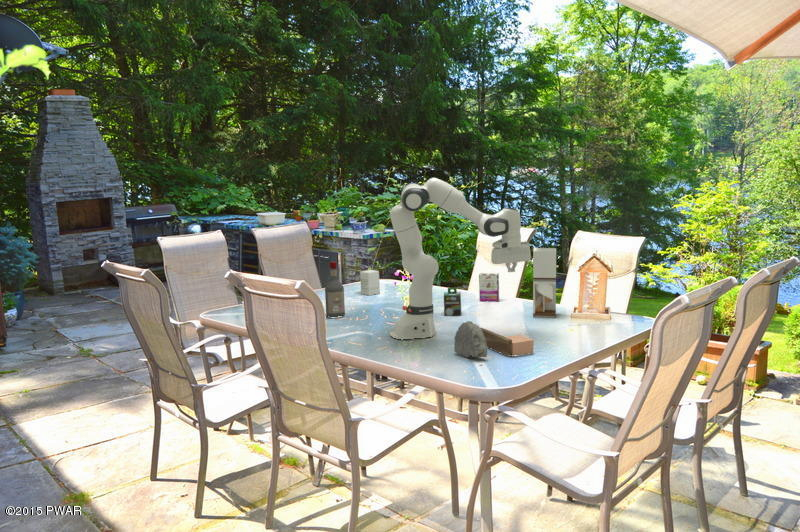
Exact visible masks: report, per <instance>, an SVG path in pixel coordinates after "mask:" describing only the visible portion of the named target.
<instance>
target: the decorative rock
mask: <svg viewBox="0 0 800 532" xmlns="http://www.w3.org/2000/svg"><path fill="white" fill-rule="evenodd" d="M457 328H458V330H457V331H456V332H455V334H454V335H455V336H454V342H453V343H454V353H456V354H459V355H461V356H463V357H465V358H467V357H468V358H467V359H470V358H469V357H472V356H473V357H474V358H487V355H488V348H487V345H486V339H485V337H484V334H483V332H482V330H481V328H482V327H481V326H480V325H478V324H476V323H474V322H473V321H469V320H468V321H466V322H463V323H461V324H460V325H459V327H457ZM473 357H472V358H473Z"/></svg>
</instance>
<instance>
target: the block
mask: <svg viewBox="0 0 800 532" xmlns="http://www.w3.org/2000/svg"><path fill="white" fill-rule="evenodd" d="M505 337H506V338H509V339H511V340H512V355H513V356H514V355H521V354H526V355H529V354H528V353H532V354H534V339H531V338H529V337H526V336H525V335H522V334H515V335H509V336H505ZM513 356H512V357H513ZM521 356H522V355H521Z"/></svg>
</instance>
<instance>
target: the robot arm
mask: <svg viewBox="0 0 800 532" xmlns="http://www.w3.org/2000/svg"><path fill="white" fill-rule="evenodd" d="M399 202H400V203H398V204H397V205H395V206H393V207H392V208H391V209H390V212H389V216H390V220H391V224H392V228H393V230H394V233H395V236H396V238H397V241H398V244H399V246H400V251H401V258H402V261H401V264H402V267H403V269H404V270H405V272H407V273H408V274H410V275H412V281H411V285H410V287H409V289H408V302H409V304H408V306H406V305H403V306H402V307H401V309H402V310H403V311H406V312H405V314H404V315H402V316H401V317H400V318H399V319H398V320H396V322H395V324H394V328H393V329H394V330H393V331H390V332H389V336H390V337H391V336H392V337H393V339H394V338H396V339H395V340H397V339H401V340H400V341H404V340H403V339H412V340H415V339H414V338H422V339H427V338H426V337H431V338H433V337H432V336H435V335H436V334H437V330H436V326H435V321H434V320H435V319H434V314H435V313H434V304H433V287H434V281H435V277H436V275H437V273H438V272H439V267H440V266H439V263H438V261H437V260H436V258H434V257H433V256H432V255H429V254H426V253H425V252H424V250H423V236H422V234H421V232H420V228H419V225H418V223H417V221H416V218H415V217H416V216H415V212H418V211H420V210H421V209H422V208H424V207H425V206H426V205H427V204H428V203H433V204H435V205H436V206H437V207H440V208H441V209H443V210H445V211H447V212H449V213H452V214H457V215H459V216H462V217H464V218H465V219H467V220H468V221H469V222H471V223H472V224H474V225H475V227H476V228H477V229H478V231H479V232H480V233H481V234H482V235H485V236H488V237H493V238H495V237H499V236H501V238H500V239H498V240H497V241H496V240H495V241H494V242H493V243H492V244H491V245H492V247H493V248H492V250H491V255H490V256H491V259H490V261H491V263H492V264H493V265H503V264H505V267H506V269H507V273H514V272H515V273H516V268H517V266H518V263H522V262H529V261H531V258H532V255H531V254H532V253H531V249H530V247H531V244H530V243H529V242H528V241H526V240H525V241H522V240H521V239H522V235H521V227H522V223H521V222H522V221H521V213H520V211H519V210H518V209H516V208H510V207H504V208H502V210H500V211H498V212H496V213H494V214H491V213H485V212H482V211H480V210H478V209H477V208H476V207H474V206H472V205H471V204H469V202H467V200H466V198H465V196H464V194H463V193H462V192H461V191H460V190H459V189H458V188H456V187H454V186H453V185H452V184H450V183H448V182H446V181H444V180H442V179H439V178H437V177H431V178H429V179H428V180H427V181H426V182H425V183H424V185H420V184H419V183H416V182H410V183H407V184H405V186H404V187H403V188H402V190H401V194H400V201H399ZM511 265H512V266H511ZM392 337H391V338H392Z"/></svg>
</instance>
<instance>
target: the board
mask: <svg viewBox="0 0 800 532" xmlns="http://www.w3.org/2000/svg"><path fill="white" fill-rule="evenodd" d="M480 328H481V330H482V332H483V334H484V337H485V339H486V345H487V347H489V348H492V349H494V350H496V351H498V352H501V353H503V354H505V355H507V356H509V355H512V340H511V339H509V338H506V337H507V336H504V335H501V334H499V333H496V332H494V331H491V330H489V329H487V328H483V327H480ZM489 348H488V349H489ZM492 349H491V350H492ZM494 350H493V351H494ZM496 351H495V352H496ZM498 352H497V353H498ZM501 353H500V354H501ZM503 354H502V355H503ZM505 355H504V356H505ZM507 356H506V357H507ZM509 357H510V356H509Z"/></svg>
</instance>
